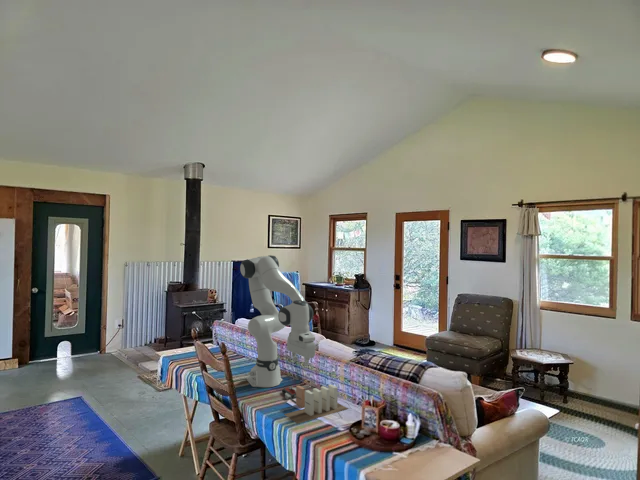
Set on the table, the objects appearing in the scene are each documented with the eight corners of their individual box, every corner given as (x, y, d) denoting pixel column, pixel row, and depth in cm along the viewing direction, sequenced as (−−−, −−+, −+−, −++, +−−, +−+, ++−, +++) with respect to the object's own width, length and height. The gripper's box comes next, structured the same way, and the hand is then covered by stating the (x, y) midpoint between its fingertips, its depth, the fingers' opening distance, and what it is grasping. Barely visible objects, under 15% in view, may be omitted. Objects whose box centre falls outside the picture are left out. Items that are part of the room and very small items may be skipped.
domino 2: (310, 415, 193) (310, 393, 193) (304, 412, 197) (304, 390, 197) (313, 414, 194) (313, 393, 194) (307, 411, 199) (307, 389, 198)
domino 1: (301, 410, 202) (301, 389, 202) (296, 406, 207) (296, 386, 207) (304, 409, 203) (304, 388, 203) (299, 405, 208) (299, 385, 208)
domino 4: (326, 411, 198) (326, 390, 198) (320, 407, 203) (320, 386, 203) (329, 410, 200) (329, 389, 199) (323, 407, 204) (323, 386, 204)
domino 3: (318, 413, 196) (318, 391, 196) (312, 410, 200) (312, 388, 200) (321, 412, 197) (321, 391, 197) (315, 409, 201) (315, 388, 201)
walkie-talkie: (278, 393, 225) (294, 406, 207) (278, 385, 225) (294, 397, 207) (293, 390, 229) (310, 403, 212) (293, 382, 229) (310, 394, 212)
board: (283, 416, 195) (283, 414, 195) (333, 402, 211) (333, 400, 211) (297, 425, 185) (297, 423, 185) (348, 410, 201) (348, 408, 201)
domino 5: (334, 409, 201) (334, 388, 201) (328, 405, 205) (328, 385, 205) (337, 408, 202) (337, 387, 202) (331, 404, 206) (331, 384, 206)
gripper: (283, 331, 212) (284, 359, 212) (305, 339, 195) (306, 369, 195) (294, 330, 215) (294, 357, 215) (317, 337, 198) (317, 367, 198)
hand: (300, 363), depth 205 cm, fingers open, 8 cm apart
